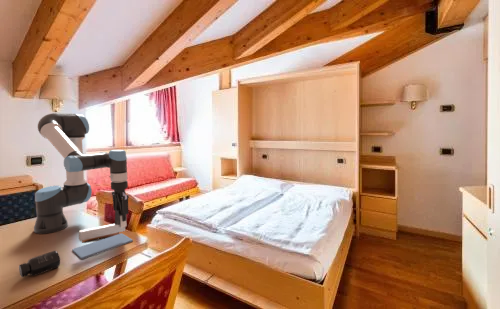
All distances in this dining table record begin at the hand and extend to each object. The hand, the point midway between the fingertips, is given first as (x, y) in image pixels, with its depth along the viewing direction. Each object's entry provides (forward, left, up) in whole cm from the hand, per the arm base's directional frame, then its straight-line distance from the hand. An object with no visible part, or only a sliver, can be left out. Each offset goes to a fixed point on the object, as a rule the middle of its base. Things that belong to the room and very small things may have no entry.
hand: (121, 225), depth 131 cm
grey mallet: (0, -9, -2) cm, 9 cm away
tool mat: (-1, -9, -8) cm, 12 cm away
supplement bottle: (+3, -28, -5) cm, 28 cm away
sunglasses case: (-13, -5, -9) cm, 17 cm away
